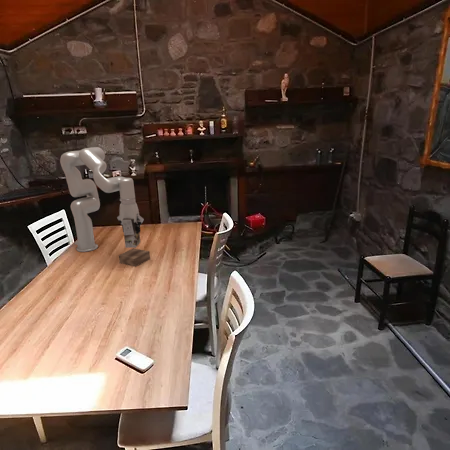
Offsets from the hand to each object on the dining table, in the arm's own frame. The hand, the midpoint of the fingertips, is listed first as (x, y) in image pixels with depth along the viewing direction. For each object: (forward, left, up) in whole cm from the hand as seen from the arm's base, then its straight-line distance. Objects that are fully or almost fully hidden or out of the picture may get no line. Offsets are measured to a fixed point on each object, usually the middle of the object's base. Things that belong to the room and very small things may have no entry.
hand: (131, 232), depth 193 cm
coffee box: (0, 0, -8) cm, 8 cm away
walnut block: (0, 0, -18) cm, 18 cm away
